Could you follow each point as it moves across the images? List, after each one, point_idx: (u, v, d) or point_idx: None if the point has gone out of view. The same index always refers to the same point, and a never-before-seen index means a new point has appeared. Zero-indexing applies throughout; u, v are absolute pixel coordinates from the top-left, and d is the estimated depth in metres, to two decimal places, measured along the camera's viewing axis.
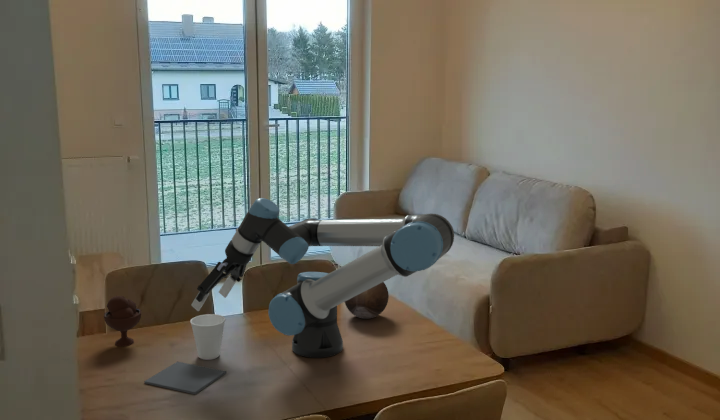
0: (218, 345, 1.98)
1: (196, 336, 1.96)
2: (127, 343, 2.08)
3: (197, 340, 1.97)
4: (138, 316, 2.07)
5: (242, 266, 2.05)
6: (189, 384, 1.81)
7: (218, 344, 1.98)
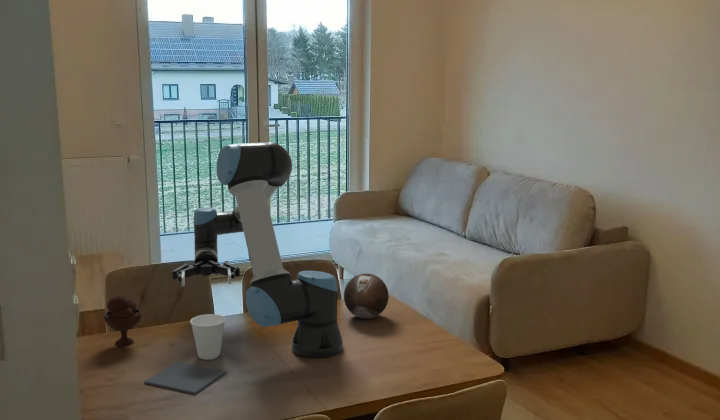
0: (218, 345, 1.98)
1: (196, 336, 1.96)
2: (127, 343, 2.08)
3: (197, 340, 1.97)
4: (138, 316, 2.07)
5: (228, 266, 2.19)
6: (189, 384, 1.81)
7: (218, 344, 1.98)
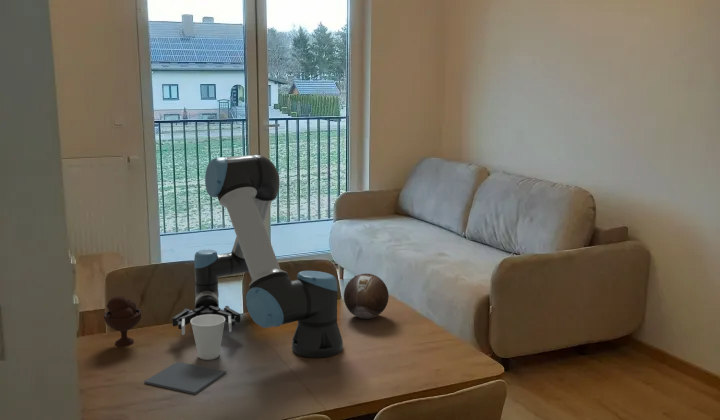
0: (218, 345, 1.98)
1: (196, 336, 1.96)
2: (127, 343, 2.08)
3: (197, 340, 1.97)
4: (138, 316, 2.07)
5: (228, 311, 2.17)
6: (189, 384, 1.81)
7: (218, 344, 1.98)
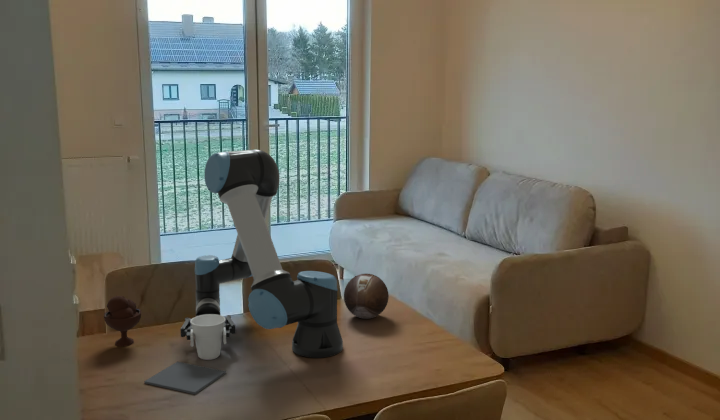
0: (218, 345, 1.98)
1: (196, 336, 1.96)
2: (127, 343, 2.08)
3: (197, 340, 1.97)
4: (138, 316, 2.07)
5: (227, 321, 2.08)
6: (189, 384, 1.81)
7: (218, 344, 1.98)
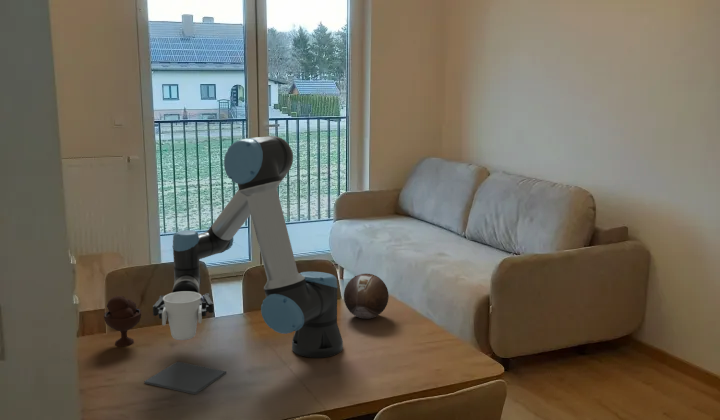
0: (193, 324, 1.82)
1: (169, 314, 1.80)
2: (127, 343, 2.08)
3: (170, 318, 1.81)
4: (138, 316, 2.07)
5: (205, 299, 1.92)
6: (189, 384, 1.81)
7: (193, 323, 1.82)
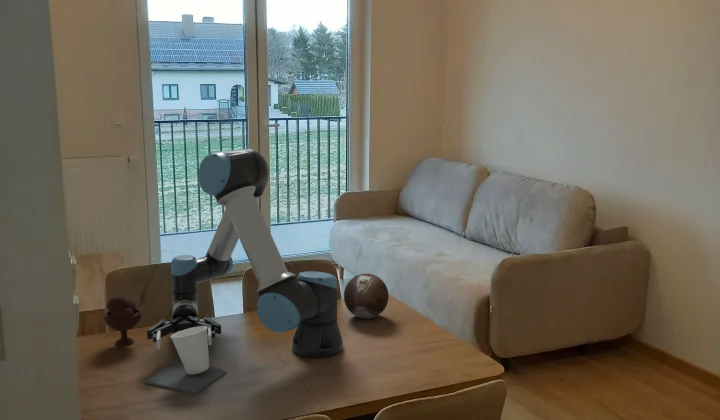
0: (204, 356, 1.85)
1: (179, 350, 1.84)
2: (127, 343, 2.08)
3: (181, 354, 1.84)
4: (138, 316, 2.07)
5: (208, 322, 2.01)
6: (189, 384, 1.81)
7: (204, 355, 1.85)
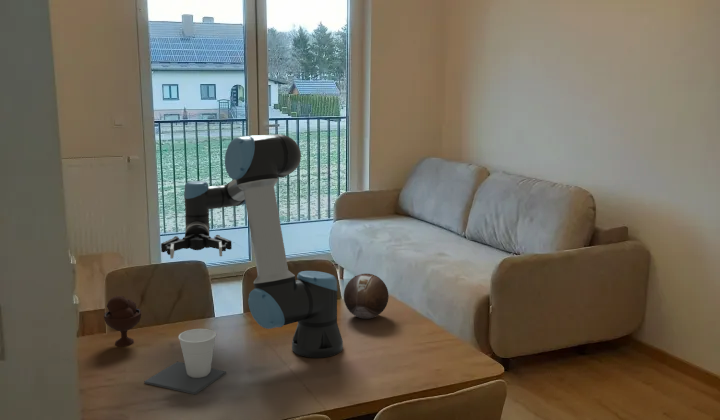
0: (208, 362, 1.85)
1: (185, 353, 1.83)
2: (127, 343, 2.08)
3: (186, 357, 1.83)
4: (138, 316, 2.07)
5: (219, 239, 2.11)
6: (189, 384, 1.81)
7: (208, 361, 1.85)
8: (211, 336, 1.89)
